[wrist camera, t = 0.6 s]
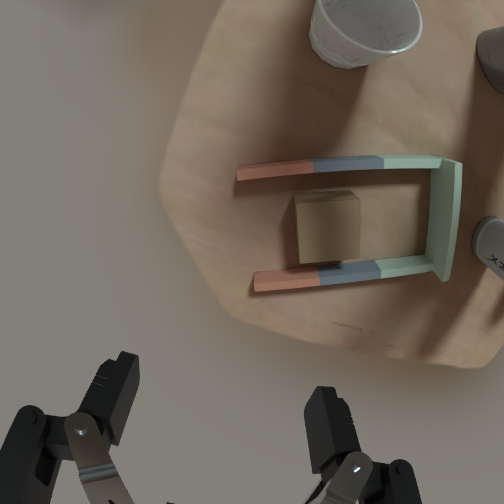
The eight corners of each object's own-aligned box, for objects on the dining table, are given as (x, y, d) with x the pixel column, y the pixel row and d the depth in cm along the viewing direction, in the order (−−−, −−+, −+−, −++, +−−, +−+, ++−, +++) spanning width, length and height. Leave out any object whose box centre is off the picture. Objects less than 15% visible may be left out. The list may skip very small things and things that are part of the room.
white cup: (369, 86, 23) (414, 72, 14) (294, 59, 23) (306, 27, 14) (384, 26, 20) (427, -5, 11) (312, -1, 19) (329, -48, 10)
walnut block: (349, 189, 28) (360, 199, 25) (349, 242, 31) (359, 258, 27) (292, 193, 29) (296, 203, 25) (296, 246, 31) (299, 263, 28)
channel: (437, 155, 25) (462, 163, 21) (430, 260, 31) (448, 280, 26) (238, 166, 28) (232, 174, 23) (256, 279, 33) (253, 305, 29)
